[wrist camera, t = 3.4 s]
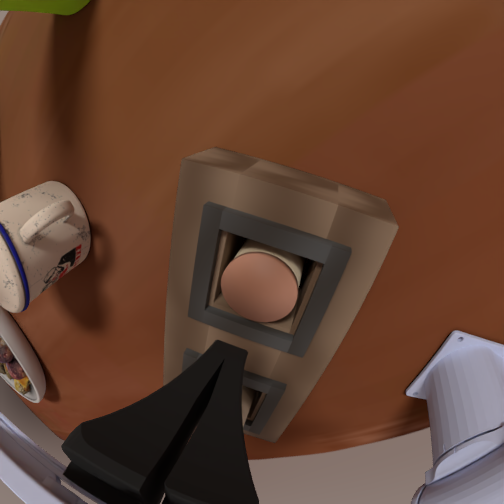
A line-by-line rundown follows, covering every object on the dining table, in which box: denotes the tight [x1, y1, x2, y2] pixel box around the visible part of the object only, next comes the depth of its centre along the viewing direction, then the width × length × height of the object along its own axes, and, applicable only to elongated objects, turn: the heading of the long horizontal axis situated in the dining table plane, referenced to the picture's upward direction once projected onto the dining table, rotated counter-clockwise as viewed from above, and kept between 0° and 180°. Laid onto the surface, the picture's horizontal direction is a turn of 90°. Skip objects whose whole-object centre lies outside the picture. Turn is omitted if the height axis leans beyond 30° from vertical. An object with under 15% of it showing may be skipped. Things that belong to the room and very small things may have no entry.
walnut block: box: [164, 147, 399, 443], centre depth 21 cm, size 11×22×5 cm, turn 167°
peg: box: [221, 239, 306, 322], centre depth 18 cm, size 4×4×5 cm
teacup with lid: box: [0, 181, 91, 313], centre depth 20 cm, size 12×9×12 cm
